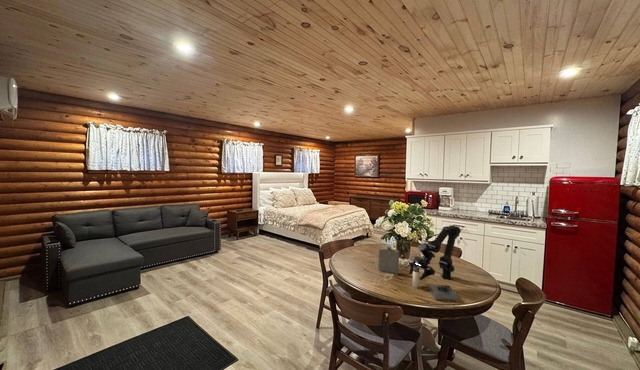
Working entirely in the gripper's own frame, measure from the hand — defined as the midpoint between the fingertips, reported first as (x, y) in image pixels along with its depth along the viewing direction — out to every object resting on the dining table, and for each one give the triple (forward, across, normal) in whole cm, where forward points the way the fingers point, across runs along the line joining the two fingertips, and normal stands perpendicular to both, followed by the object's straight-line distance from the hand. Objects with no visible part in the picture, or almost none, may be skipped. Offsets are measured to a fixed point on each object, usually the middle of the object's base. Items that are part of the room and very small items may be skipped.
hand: (414, 276), depth 181 cm
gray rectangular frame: (+1, +17, +9) cm, 19 cm away
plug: (+4, 0, +6) cm, 7 cm away
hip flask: (+3, -29, +8) cm, 30 cm away
